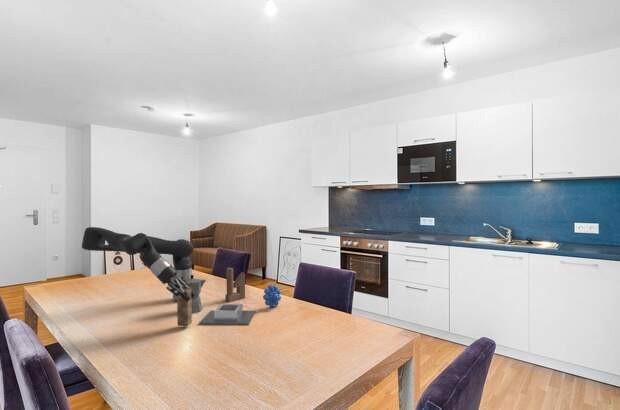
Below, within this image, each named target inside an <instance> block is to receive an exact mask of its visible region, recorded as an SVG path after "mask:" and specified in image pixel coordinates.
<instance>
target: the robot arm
mask: <svg viewBox="0 0 620 410" xmlns="http://www.w3.org/2000/svg"><path fill="white" fill-rule="evenodd" d="M106 243H107V244H106ZM81 248H82V249H83V250H86V251H91V252H92V251H93V252H118V253H119V252H121V253H122V252H123V253H126V254H127V255H129V256H135V255H137V254H139V255H140V254H142V256H141V259H140V260H141V262H142V263H143V264H144V265H145V266H146V268H148V269H149V270H150V271H151V273H152V274H153V275H154V276H155V277H156V278H157V279H158V281H160V282H161V283H162V285H166V284H167V286H166V290H167V291H168V292H170V293H171V294H172V301H173V302H174V301H175V302H177V296H181V297H182V298H183V299H184V300H185V301H186V302H188V301H189V300H190V299H191V298H190V297H189V296H188V295H187V294H186V293H185V292H184V290H183V288H190V285H189V283H188V282H187V281H186V280H187V279H191V276H190V275H193V263H192V261H191V255H192V254H193V253H194V249H195V248H194V245H193V243H192V242H191V241H189V240H187V239H184V238H183V239H182V238H181V239H177V240H167V239H165V238H164V239H163V238H159V237H154V236H150V235H149V236H148V235H147V234H145V233H143V232H139V233H137V234H134V235H133V236H132V235H130V234H126V233H119V232H115V231H113V230H109V229H106V228H104V227H103V228H102V227H99V226H98V227H97V226H90V227H87V228H85V230H84V232H83V237H82V241H81ZM162 255H168V256H169V255H170V256H172V264H173V265H171V263H170V262H169V261H168V260H166V259H165V258H164V257H163V256H162ZM194 296H195V294H194V293H193V292H192V298H193V297H194Z"/></svg>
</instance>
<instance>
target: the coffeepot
mask: <svg viewBox="0 0 620 410" xmlns="http://www.w3.org/2000/svg"><path fill="white" fill-rule="evenodd" d="M190 276H191V279H187V280H186V281H187V282H188V283H189V285H190V288H192V292H193V293H194V294H195V296H194V297H193V298H192V315H193V314H198V313H200V312H201V311H202V310H203V307H202V306H203V305H202V301H201V296H200V294H201V291H202V287H203V286H204V284H205V283H206V282H207V280H206V279H200V278H194V274H192V275H190Z"/></svg>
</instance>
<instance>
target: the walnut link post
mask: <svg viewBox="0 0 620 410" xmlns="http://www.w3.org/2000/svg"><path fill="white" fill-rule="evenodd" d="M183 290H184V292H185V293H186V294H187V295H188V296H189V297H190V298H191V299H190V300H189V301H188V302H186V301H185V300H184V299H183V298H182V297H181V296H177V301H176V303H177V304H176V305H177V307H176V308H177V314H176V316H177V317H176V318H177V326H178V327H189V325H191V324H192V322H193V314H192V288H183Z"/></svg>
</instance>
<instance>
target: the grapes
mask: <svg viewBox="0 0 620 410" xmlns="http://www.w3.org/2000/svg"><path fill="white" fill-rule="evenodd" d="M263 292H264V294H263V295H262V298H263V300H264V301H265V302H264V304H265V306H269V307H270V308H271V309H272V308H274V307H277V306H279V303H280V301H281V300H282V296H281V293H282V292H281V289H279V288H278V285H275V284H273V285H272V284H269V285H268V286H267V288H265V289H264V291H263Z"/></svg>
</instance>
